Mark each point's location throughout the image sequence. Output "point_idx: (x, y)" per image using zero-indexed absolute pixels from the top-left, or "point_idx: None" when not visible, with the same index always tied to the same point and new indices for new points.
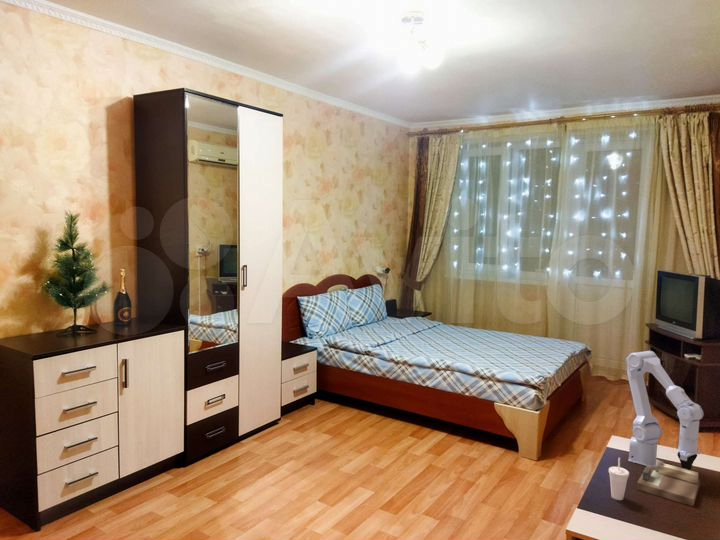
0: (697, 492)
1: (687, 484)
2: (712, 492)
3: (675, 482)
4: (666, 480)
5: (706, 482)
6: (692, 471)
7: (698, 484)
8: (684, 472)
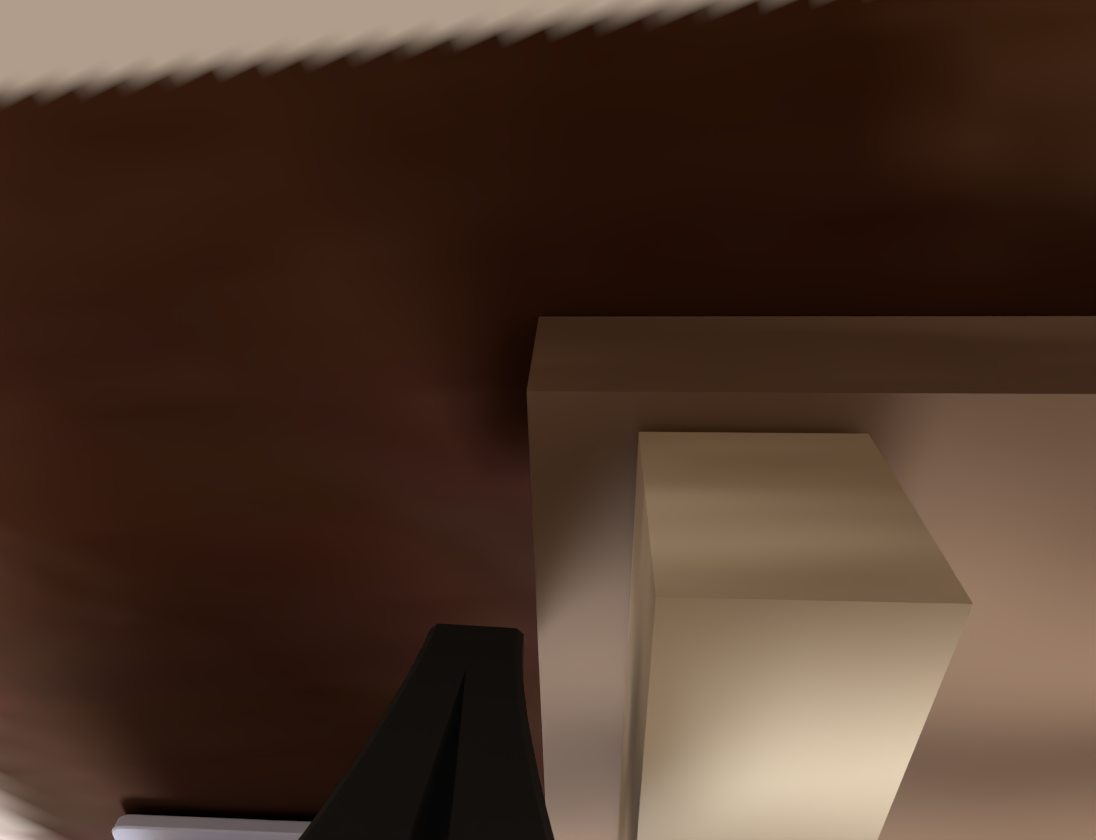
0: (900, 319)
1: (990, 568)
2: (667, 31)
3: (992, 717)
4: (980, 807)
5: (205, 222)
6: (698, 715)
7: (851, 393)
8: (878, 819)
